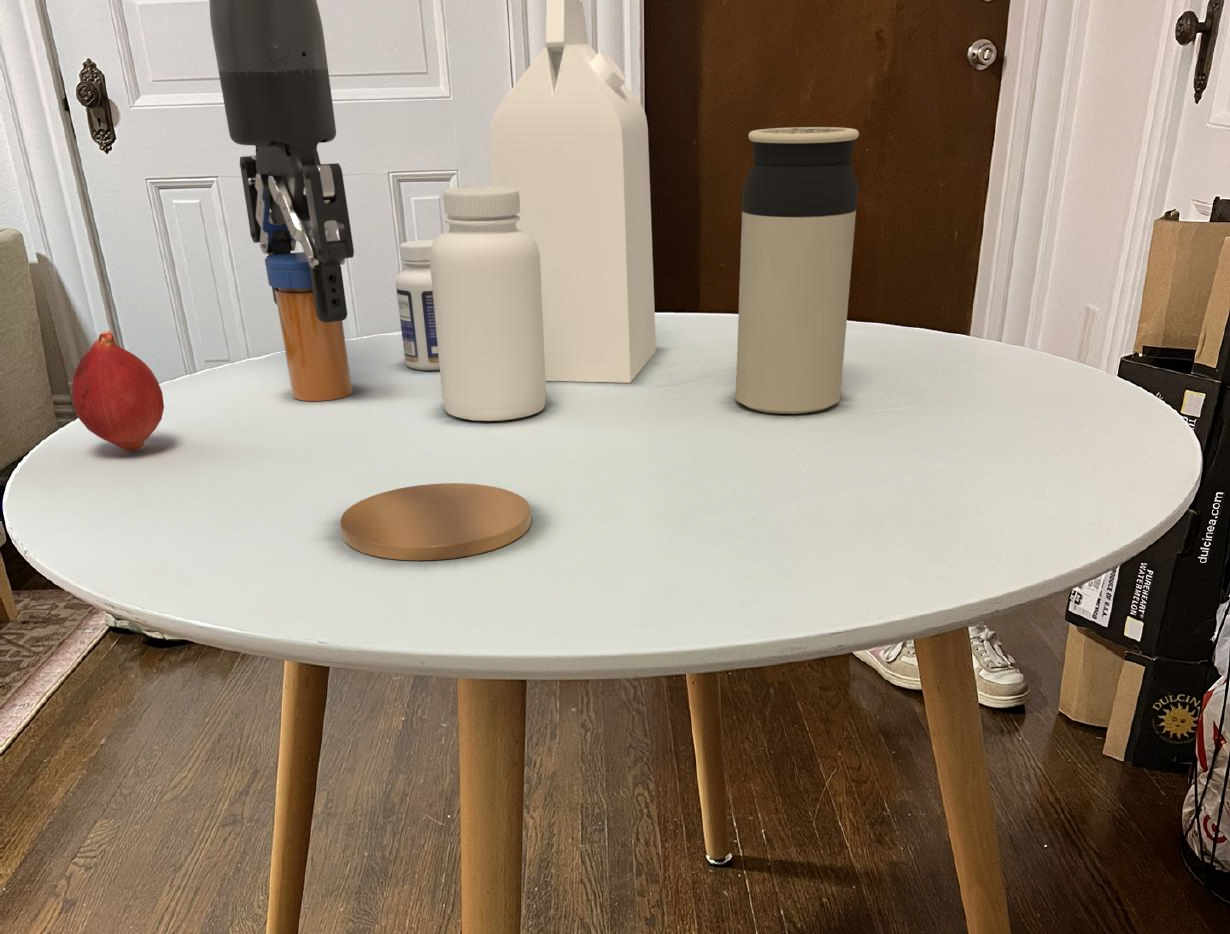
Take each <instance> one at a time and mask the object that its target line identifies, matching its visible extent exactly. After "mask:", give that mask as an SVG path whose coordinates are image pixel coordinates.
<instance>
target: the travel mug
mask: <svg viewBox="0 0 1230 934" xmlns="http://www.w3.org/2000/svg"><path fill="white" fill-rule="evenodd" d="M859 136H860V132H859V130H858V129H855V128H850V127H836V126H835V127H834V126H832V127H829V126H802V127H801V126H800V127H799V126H798V127H775V128H774V127H773V128H762V129H755V130H751V131H750V132H748V139H749V141H751V147H752V156H753V165H752V167H751V169H750V171H749V173H748V175H747V177H746V180H745V181H744V184H743V185H742V208H741V210H742V211H741V231H740V232H741V234H740V235H741V236H740V260H739V261H740V262H739V264H740V265H739V291H738V293H739V294H738V316H737V317H738V318H737V319H738V320H737V322H738V323H737V348H736V349H737V351H736V375H735V377H736V378H735V400H736V401H737V402H739V403H740V404H742V405H743V406H745V407H746V408H748V409H750V410H754V411H758V412H760V413H767V414H776V415H803V414H810V413H815V412H821V411H824V410H827V409H829V408H830V407H832V406H834V405H835V404H836V405H837V403H838V402H840V400H841V393H842V383H843V382H842V381H843V371H844V370H843V369H844V357H845V345H846V333H847V322H848V311H849V310H848V309H849V299H850V286H851V276H852V275H851V273H852V264H853V263H852V262H853V252H854V251H853V250H854V239H855V227H856V213H857V204H858V203H857V202H858V192H859V184H858V180H857V177H856V175H855V172H854V170H853V167H852V165H851V162H850V161H851V159H852V155H853V154H852V153H853V149H854V144H855V142H856V140H857V139H858V138H859Z"/></svg>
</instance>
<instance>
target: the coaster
mask: <svg viewBox="0 0 1230 934" xmlns="http://www.w3.org/2000/svg"><path fill="white" fill-rule="evenodd" d="M339 523H340V529H341V536H342V538H343V541H344V542H345V543H346V544H347V545H348V546H349V547H351V548H352V549H354V550H356V551H358V552H360V553H363V554H366V555H369V556H373V557H377V558H383V559H391V560H400V561H438V560H439V561H441V560H448V559H449V560H450V559H458V558H463V557H464V558H465V557H469V556H474V555H478V554H479V555H480V554H483V553H486V552H491V551H493V550H496V549H500V548H502V547H504V546H507V545H509V544H512V543H513V542H514V541H516V540H518V539H520V538H521V537H522V536H524V535H525V534H526V533H527V532H528V530H529V529H530V527H531V524H532V514H531V506H530V504H529V502H528V501H527V500H526V499H525V497H523V496H521V495H519V494H518V493H516V492H514V491H511V490H508V489H505V488H501V487H498V486H497V487H496V486H492V485H484V484H477V483H464V482H463V483H457V482H456V483H455V482H449V483H446V482H445V483H430V484H429V483H428V484H419V485H412V486H406V487H399V488H396V489H395V488H394V489H391V490H387V491H384V492H380V493H377V494H374V495H372V496H368V497H366V498H364V499H362V500H360V501H358V502H356V503H354V504H352V505H351V506H349V507H348V508H347V509H346V510H345V511H344V512H343V513H342V515H341V517H340V521H339Z"/></svg>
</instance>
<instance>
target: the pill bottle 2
mask: <svg viewBox="0 0 1230 934" xmlns="http://www.w3.org/2000/svg"><path fill="white" fill-rule="evenodd" d="M442 195H443V207H444V213H445V215H447V216H446V217H445V218H444V223H445V224H448V226H449V228H448V230H447V231H444V232H443V233H442V234H440V235H438V236H437V237H436V238H435V239H434V240H435V241H434V242H433V244H432V246H431V250H430V269H431V279H432V290H433V301H434V311H435V322H436V333H437V344H438V354H439V365H440V370H439V374H440V382H441V383H440V386H441V397H442V401H443V406H444V409H445V411H446V413H447V414H448V415H450V416H453V417H456V418H460V419H463V420H470V421H478V422H479V421H480V422H482V421H483V422H492V421H493V422H495V421H496V422H497V421H508V420H516V419H522V418H526V417H530V416H533V415H536V414H537V413H540V412H541V411H543V410H544V408H545V406H546V401H547V381H546V379H545V357H544V335H543V313H542V291H541V269H540V253H539V250H538V246H537V244H536V242H535V240H534V239H533V238H532V237H531V236H530V235H529V234H527V233H526V232H524V231H521V230H519V229H517V228H516V222H518V221H519V220H520V217H519V216H518V215H515V214H517V213H519V212H520V197H519V192H518V190H517V189H515V188H509V187H492V186H491V185H490V186H488V185H487V186H481V185H479V186H463V187H460V186H459V187H452V188H448V189H445V190H444V192H443V193H442Z"/></svg>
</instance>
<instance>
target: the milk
mask: <svg viewBox="0 0 1230 934" xmlns="http://www.w3.org/2000/svg"><path fill="white" fill-rule="evenodd" d="M545 4H546V7H545V8H546V9H545V11H546V12H545V46H544V47H543V48H542V49H541V50H540V52H539V53H538V54H537V56H536V57H535V58H534V60H533V61H532V62H531V63H530V65H529V66H528V68H527V69H526V70H525V71H524V73H522V75H521V76H520V77H519V78H518V80H517V82H516V83H515V84H514V85H513V87H512V88H511V89H510V90H509V92H508V93H507V94H506V95H505V97H504V98H503V99H502V101H501V103H500V104H499V105H498V107H497V109H496V111H495V112H494V113H493V117H492V119H491V123H490V126H489V135H488V143H489V144H488V145H489V148H488V149H489V175H490V176H489V179H490V186H492V187H509V188H515V189H517V190H518V192H519V197H520V212H519V213H517V214H515V215H518V216H519V217H520V220H519V221H518V222H516V228H517V229H519V230H521V231H524V232H526V233H527V234H529V235H530V236H531V237H532V238H533V239H534V240H535V242H536V244H537V246H538V250H539V253H540V269H541V291H542V313H543V335H544V357H545V379H546V382H547V381H549V382H581V383H582V382H583V383H585V382H586V383H620V384H621V383H624V384H626V383H628V384H630V383H632V382H633V381H634V379H635V378H636V377H637V375H638V374H639V373H640V372H641V370H642V369H643V368H644V366H645V365H646V364H647V363H648V362H649V360H650V359H651V358H652V357H653V355H654V354H655V353H656V351H657V342H656V341H657V340H656V339H657V338H656V337H657V336H656V316H655V315H656V314H655V313H656V311H655V309H656V308H655V289H654V288H655V287H654V285H655V284H654V259H653V257H654V256H653V234H652V233H653V232H652V206H651V205H652V203H651V181H650V180H651V178H650V175H651V174H650V151H649V127H648V120H647V114H646V112H645V111H646V110H645V109H644V108H643V106H642V104H641V102H640V101H639V99H638V98H637V97H636V95H635V94H634V93H633V91H632V90H630V89H629V87H628V86H627V85H626V84H625V82H626V81H627V80H626V76H625V75H624V73H623V72H622V70H621V69H620V67H619V66H618V65H617V64H616V63H615V61H614V60H613V59H612V58H611V56H609V55H608V53H606V52H605V51H604V50H599V52H598V53H597V52H596V51H595V49H594V48H593V47H592V46H591V45H590V44H589V38H588V30H587V25H586V18H585V16H586V15H585V9H584V3H583V1H582V0H546V3H545Z"/></svg>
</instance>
